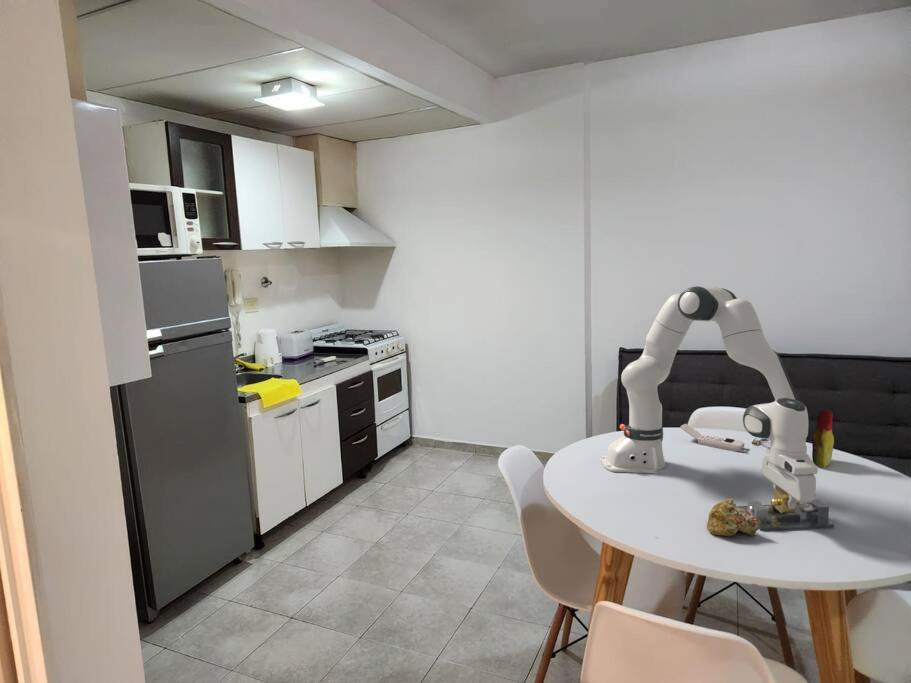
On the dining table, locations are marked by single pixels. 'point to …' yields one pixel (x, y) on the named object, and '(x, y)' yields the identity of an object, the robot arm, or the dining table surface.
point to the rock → (731, 520)
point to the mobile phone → (715, 440)
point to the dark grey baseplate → (791, 516)
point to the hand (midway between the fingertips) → (784, 503)
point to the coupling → (782, 501)
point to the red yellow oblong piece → (823, 439)
